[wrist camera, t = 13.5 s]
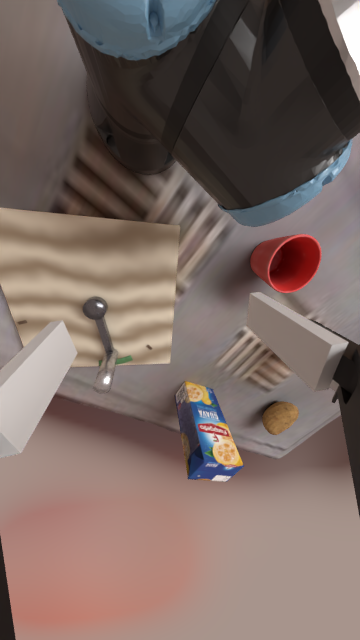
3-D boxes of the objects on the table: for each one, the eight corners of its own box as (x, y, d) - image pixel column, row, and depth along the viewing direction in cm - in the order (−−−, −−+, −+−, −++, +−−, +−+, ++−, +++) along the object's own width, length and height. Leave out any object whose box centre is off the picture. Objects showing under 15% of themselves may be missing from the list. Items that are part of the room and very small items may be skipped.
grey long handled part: (83, 297, 38) (60, 321, 28) (104, 295, 38) (90, 317, 28) (104, 359, 45) (92, 395, 36) (122, 356, 46) (115, 391, 36)
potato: (293, 399, 70) (309, 418, 63) (266, 420, 73) (278, 440, 66) (279, 390, 66) (295, 410, 59) (251, 413, 69) (263, 434, 62)
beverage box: (202, 402, 62) (226, 481, 42) (174, 395, 58) (187, 478, 39) (212, 389, 60) (244, 466, 40) (184, 380, 56) (204, 461, 36)
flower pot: (253, 289, 45) (278, 303, 37) (236, 251, 40) (260, 257, 32) (291, 265, 44) (326, 273, 35) (278, 222, 39) (315, 220, 30)
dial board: (-22, 205, 30) (-31, 204, 28) (179, 225, 36) (180, 225, 34) (35, 364, 45) (31, 369, 43) (169, 359, 51) (170, 363, 49)
